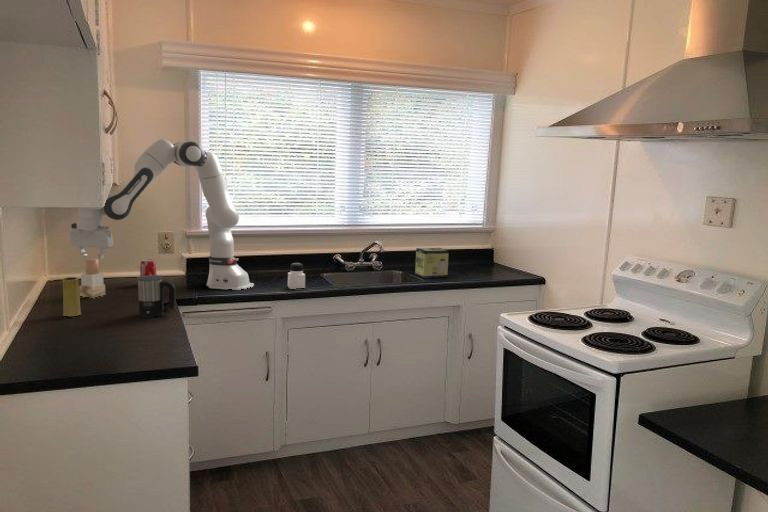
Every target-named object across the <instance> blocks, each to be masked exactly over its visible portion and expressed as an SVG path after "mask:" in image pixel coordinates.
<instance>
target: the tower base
mask: <svg viewBox="0 0 768 512" xmlns="http://www.w3.org/2000/svg"><path fill="white" fill-rule="evenodd" d="M103 284H104V283H103ZM103 295H105V296H106V284H104V285H99V286H95V287H89V286H81V285H80V284H79V296H83V297H82V298H84V297H90V298H89V299H91V298H93V299H96V298H95V297H97V298H99V297H98V296H101V297H104V296H103Z"/></svg>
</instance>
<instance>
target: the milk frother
mask: <svg viewBox="0 0 768 512" xmlns="http://www.w3.org/2000/svg"><path fill="white" fill-rule="evenodd" d="M136 280H137V290H138V292H137V293H138V315H139V317H140V316H143V317H142V318H148V317H149V318H154V317H153V316H158V317H161V316H163V315H164V314H165V313H164V311H165V310H166V309H168V308H169V309H170V310H173V309H175V307H176V291H177V289H176V284H174V282H172V281H170V280H163V276H162V275H157V274H156V275H149V276H141V277H140V276H138V277H136ZM164 287H167V288H168V292H169V293H168V294H169V295H168V296H169V297H168V301H165V300H164ZM160 315H161V316H160Z"/></svg>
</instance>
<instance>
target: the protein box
mask: <svg viewBox="0 0 768 512" xmlns="http://www.w3.org/2000/svg"><path fill="white" fill-rule="evenodd" d="M449 253H450V251H449V250H448V249H445V248H442V247H424V248H423V247H422V248H420V247H418V248H417V247H416V251H415V267H414V268H415V270H414V272H415V273H414V275H415V276H416V275H418V276H421V277H430V276H444V275H447V276H448V272H449V271H448V269H449ZM418 276H417V277H418ZM421 277H420V278H421Z"/></svg>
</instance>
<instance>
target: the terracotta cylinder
mask: <svg viewBox="0 0 768 512" xmlns="http://www.w3.org/2000/svg"><path fill="white" fill-rule="evenodd" d="M99 262H100V261H99V258H86V259H85V273H86V274H89V275H93V274H99V273H100V265H99Z"/></svg>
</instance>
